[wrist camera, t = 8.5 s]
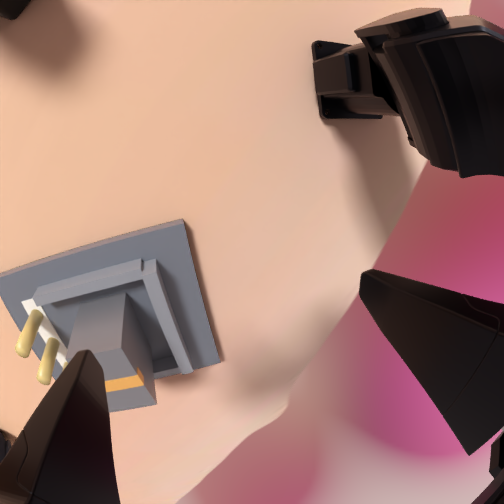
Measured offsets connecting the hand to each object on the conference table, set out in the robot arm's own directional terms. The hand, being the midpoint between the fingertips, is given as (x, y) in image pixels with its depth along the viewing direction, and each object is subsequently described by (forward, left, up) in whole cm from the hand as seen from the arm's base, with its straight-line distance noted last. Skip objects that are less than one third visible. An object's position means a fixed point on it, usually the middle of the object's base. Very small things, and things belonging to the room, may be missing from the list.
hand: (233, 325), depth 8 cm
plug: (+8, +8, -12) cm, 16 cm away
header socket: (+8, +8, -13) cm, 17 cm away
